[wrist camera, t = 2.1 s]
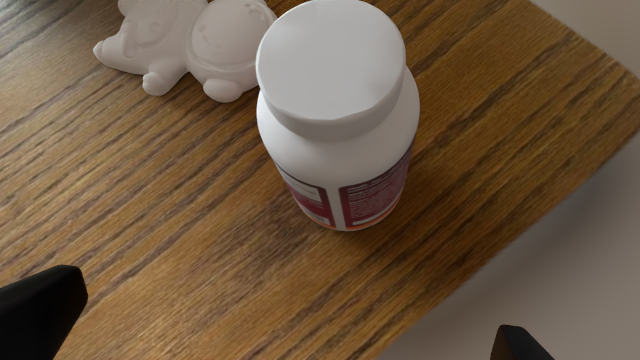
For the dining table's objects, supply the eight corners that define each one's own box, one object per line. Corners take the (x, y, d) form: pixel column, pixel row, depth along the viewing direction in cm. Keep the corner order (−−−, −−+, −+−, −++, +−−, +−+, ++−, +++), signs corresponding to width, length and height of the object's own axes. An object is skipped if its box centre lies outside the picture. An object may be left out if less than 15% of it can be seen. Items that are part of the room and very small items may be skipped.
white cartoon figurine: (146, -20, 30) (123, -57, 27) (302, 11, 27) (295, -26, 24) (87, 82, 27) (55, 53, 24) (254, 125, 25) (240, 99, 22)
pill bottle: (402, 128, 24) (431, -28, 13) (405, 235, 21) (441, 147, 11) (295, 129, 24) (243, -19, 14) (287, 232, 22) (220, 148, 12)
